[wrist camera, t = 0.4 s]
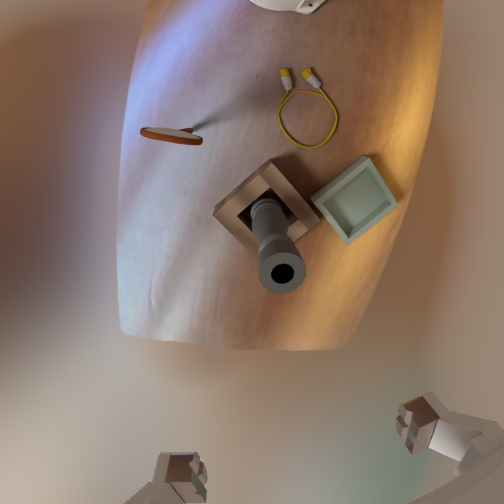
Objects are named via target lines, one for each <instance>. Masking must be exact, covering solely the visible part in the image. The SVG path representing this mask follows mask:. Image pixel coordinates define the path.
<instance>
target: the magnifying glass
mask: <svg viewBox="0 0 504 504" xmlns="http://www.w3.org/2000/svg"><path fill="white" fill-rule="evenodd" d="M192 132H193V129H192V128H185V129H180V130H175V129H169V128H142V129H141V130H140V134H141V135H142V136H144V137H147V138H150V139H155V140H159V141H163V142H168V143H175V144H185V145H201V144H202V142H203V138H201V137H199V136H197V135H193V134H191V133H192Z"/></svg>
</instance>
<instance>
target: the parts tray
mask: <svg viewBox="0 0 504 504" xmlns="http://www.w3.org/2000/svg"><path fill="white" fill-rule="evenodd" d="M310 199H311V201H312V202H313V203H314V204H315V205H316V207H317V208H318V209H319V210H320V212H321V213H322V214H323V215H324V217H325V218H326V219H327V221H328V222H329V223H330V224H331V226H332V227H333V228H334V229H335V231H336V232H337V233H338V235H339V236H340V237H341V239H342V240H343V241H344V243H345V244H346V245H347V246H348V245H349V244H351V243H352V242H353V241H355V240H356V239H357V238H358V237H360V236H361V235H362V234H363V233H364V232H366V231H367V230H368V229H369V228H371V227H372V226H373V225H374V224H376V223H377V222H378V221H379V220H380V219H382V218H383V217H384V216H385V215H386V214H388V213H389V212H390V211H391V210H392V209H394V208H395V207H396V206H397V205H398V203H397V202H396V200H395V198H394V196H393V195H392V193H391V191H390V190H389V188H388V186H387V185H386V183H385V182H384V180H383V178H382V177H381V175H380V174H379V172H378V170H377V169H376V167H375V166H374V164H373V163H372V161H371V160H370V158H368V157H366V156H363V155H362V156H360V157H359V158H358V159H357V160H355V161H354V162H353V163H352V164H350V165H349V166H348V167H347V168H346V169H344V170H343V171H342V172H341V173H339V174H338V175H337V176H336V177H334V178H333V179H332V180H331V181H330V182H328V183H327V184H326V185H325V186H323V187H322V188H321V189H320V190H318V191H317V192H316V193H315V194H314V195H312V196H311V197H310Z"/></svg>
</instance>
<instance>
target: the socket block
mask: <svg viewBox="0 0 504 504" xmlns="http://www.w3.org/2000/svg"><path fill="white" fill-rule="evenodd" d="M270 187H271V188H272V189H273V190H274V192H275V193H276V194H277V195H278V196H279V197H280V198H281V199H282V201H283V202H284V203H285V204H286V205H287V206H288V207H289V209H290V210H291V211H292V212H291V213H290V214H289V215H288V216H287V217H286V218H287V220H288V233H287V236H288V237H290V238H291V239H292V241H293V242H294V241H296V240H297V239H298V238H299V237H301V236H302V235H303V234H304V233H306V232H307V231H308V230H309V229H311V228H312V227H313V226H314V225H316V224H317V223H318V222H319V221H321V220H320V219H319V217H318V216H317V215H316V213H315V212H314V211H313V210H312V208H311V207H310V206H309V205H308V204H307V202H306V201H305V200H304V199H303V197H302V196H301V195H300V194H299V193H298V192H297V190H296V189H295V188H294V187H293V186H292V184H291V183H290V182H289V181H288V180H287V179H286V177H285V176H284V175H283V174H282V173H281V172H280V171H279V169H278V168H277V167H276V166H275V165H274V164H273V163H272V161H271V160H270V159H269V160H268V161H267V162H265V163H264V164H263V165H262V166H261V167H260V168H258V169H257V170H256V171H255V172H254V173H253V174H251V175H250V176H249V177H248V178H247V179H246V180H244V181H243V182H242V183H241V184H240V185H239V186H238V187H237V188H235V189H234V190H233V191H232V192H231V193H230V194H229V195H227V196H226V197H225V198H224V199H223V200H222V201H221V202H220V203H219V204H217V205H216V206H215V208H214V212H213V216H214V217H215V218H216V219H217V220H218V221H219V222H220V223H221V224H222V225H223V226H224V227H225V228H226V229H227V230H228V231H229V232H230V233H231V234H232V235H233V236H234V237H235V238H236V239H237V240H238V241H239V242H240V243H241V244H242V245H243V246H244V247H245V248H246V249H247V250H248V251H249V252H250V253H251V254H252V255H253V256H254V257H255V258H256V259H258V257H259V256H258V247H259V244H260V242H259V241H258V239H257V238H256V237H255V235H254V234H253V232H252V223H251V222H250V221H249V220H248V219H247V218H246V217H245V216H244V215H243V214H242V213H241V211H243V210H244V209H245V208H246V207H247V206H248V205H250V204H251V203H252V202H253V201H254V200H255V199H257V198H258V197H259V196H260V195H261V194H263V193H264V192H265V191H266V190H267V189H268V188H270Z"/></svg>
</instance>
